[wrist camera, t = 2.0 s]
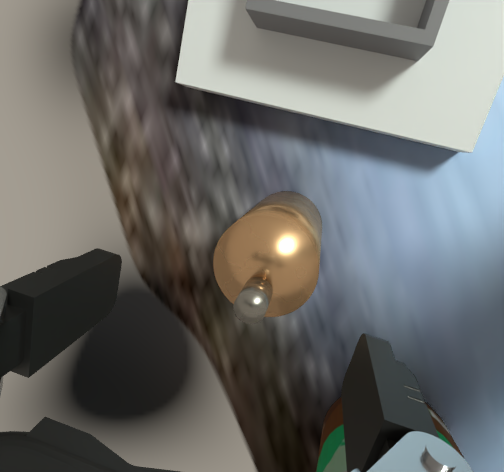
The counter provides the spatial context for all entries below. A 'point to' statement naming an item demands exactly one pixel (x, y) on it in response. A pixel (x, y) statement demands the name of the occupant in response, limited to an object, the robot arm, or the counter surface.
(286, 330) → the counter surface
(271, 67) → the white board with frame
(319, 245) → the spout can
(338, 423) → the food container
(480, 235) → the counter surface
